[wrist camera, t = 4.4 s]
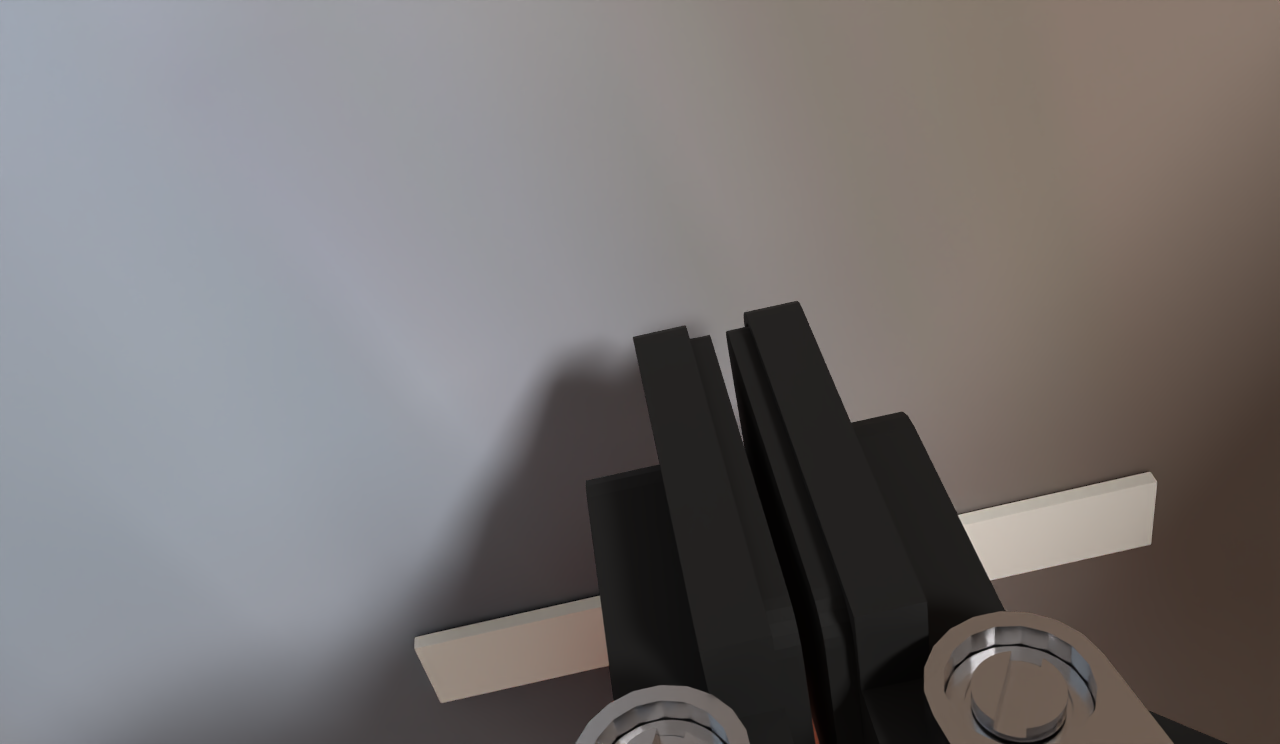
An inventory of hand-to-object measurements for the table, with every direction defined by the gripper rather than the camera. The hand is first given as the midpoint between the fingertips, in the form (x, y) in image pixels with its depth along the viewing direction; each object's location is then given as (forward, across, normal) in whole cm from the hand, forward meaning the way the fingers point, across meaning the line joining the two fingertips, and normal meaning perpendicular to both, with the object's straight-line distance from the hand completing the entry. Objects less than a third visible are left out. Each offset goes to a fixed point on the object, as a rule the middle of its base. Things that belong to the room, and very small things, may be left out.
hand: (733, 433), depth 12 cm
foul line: (+2, 0, +4) cm, 5 cm away
